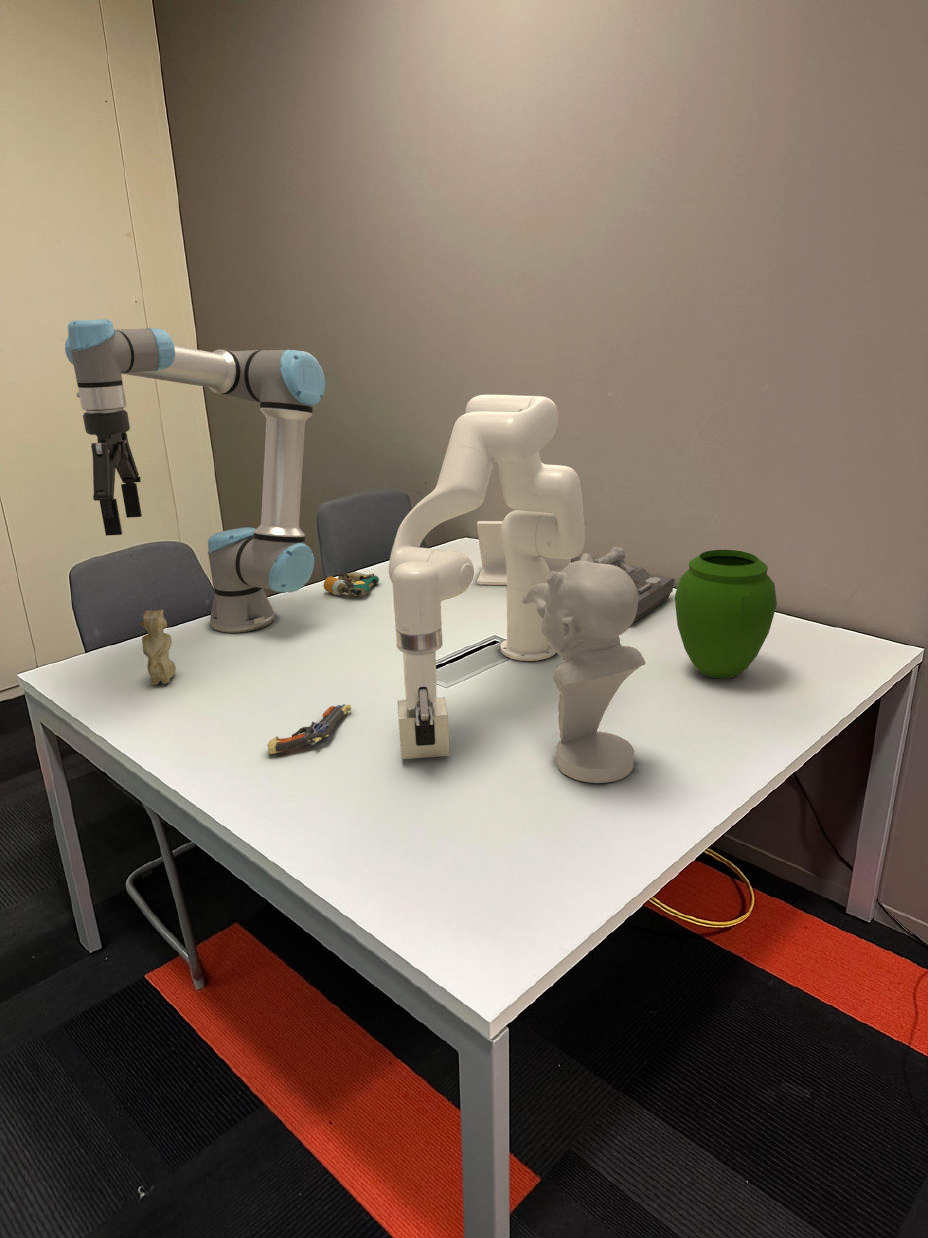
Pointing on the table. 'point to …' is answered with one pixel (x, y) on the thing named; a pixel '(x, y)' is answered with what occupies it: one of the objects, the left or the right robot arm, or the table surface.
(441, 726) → the block
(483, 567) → the tablet stand
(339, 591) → the spray gun
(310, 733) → the toy gun
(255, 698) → the table surface
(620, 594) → the bust sculpture
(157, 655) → the sculpture
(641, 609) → the toy
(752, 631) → the vase
